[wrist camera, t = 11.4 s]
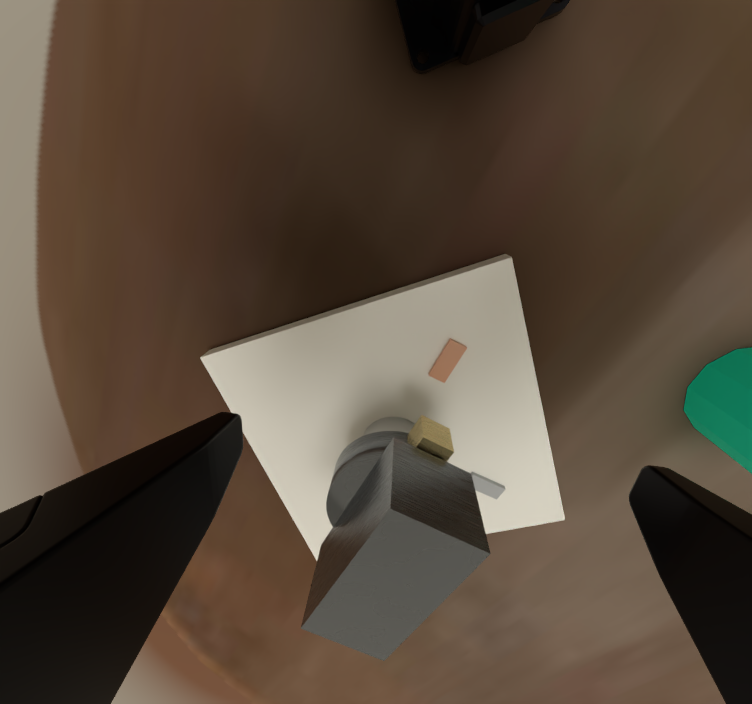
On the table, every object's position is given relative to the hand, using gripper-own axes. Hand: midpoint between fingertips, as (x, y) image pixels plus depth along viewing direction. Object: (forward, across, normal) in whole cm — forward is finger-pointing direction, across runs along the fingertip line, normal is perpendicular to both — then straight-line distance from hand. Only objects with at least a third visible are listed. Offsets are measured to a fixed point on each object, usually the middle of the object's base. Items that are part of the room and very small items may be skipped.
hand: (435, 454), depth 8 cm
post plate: (+13, 0, +9) cm, 16 cm away
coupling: (+9, 0, +9) cm, 12 cm away
